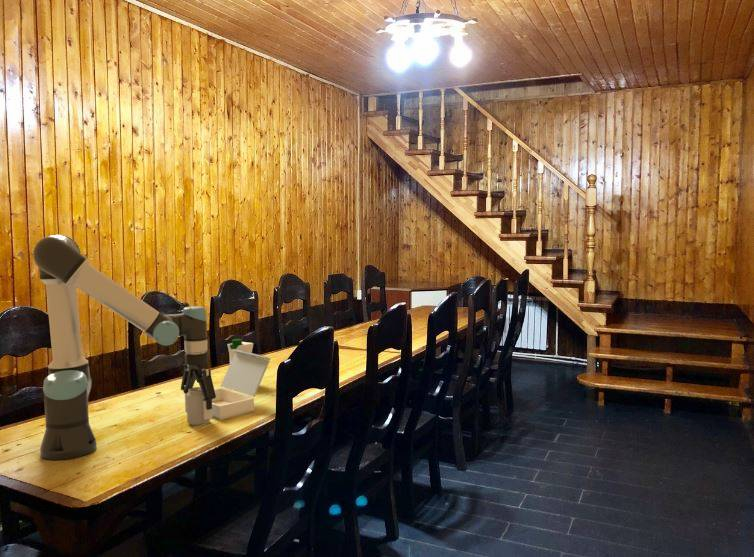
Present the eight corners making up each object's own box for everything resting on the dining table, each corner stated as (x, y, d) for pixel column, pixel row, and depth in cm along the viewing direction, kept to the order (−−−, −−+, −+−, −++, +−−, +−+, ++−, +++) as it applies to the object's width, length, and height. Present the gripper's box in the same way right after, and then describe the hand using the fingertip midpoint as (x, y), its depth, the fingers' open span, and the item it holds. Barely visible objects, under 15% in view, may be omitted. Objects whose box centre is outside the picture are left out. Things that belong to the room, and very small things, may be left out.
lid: (266, 356, 231) (270, 358, 233) (232, 348, 247) (237, 351, 248) (249, 394, 227) (254, 396, 228) (216, 384, 242) (221, 386, 244)
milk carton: (226, 386, 266) (225, 339, 264) (241, 382, 273) (240, 336, 271) (241, 389, 261) (240, 341, 259) (257, 384, 268) (255, 338, 267)
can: (203, 427, 212) (202, 391, 211) (183, 425, 213) (182, 390, 212) (213, 420, 219) (212, 386, 218) (194, 419, 221) (192, 385, 220)
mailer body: (220, 420, 219) (219, 406, 218) (188, 408, 234) (187, 394, 234) (254, 411, 229) (253, 398, 228) (221, 400, 244) (221, 387, 244)
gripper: (225, 355, 208) (227, 419, 210) (188, 346, 225) (190, 405, 227) (204, 358, 203) (207, 424, 205) (168, 349, 220) (171, 410, 222)
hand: (198, 414), depth 216 cm, fingers open, 12 cm apart
